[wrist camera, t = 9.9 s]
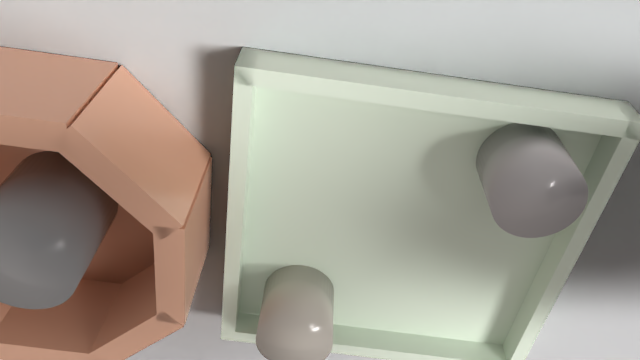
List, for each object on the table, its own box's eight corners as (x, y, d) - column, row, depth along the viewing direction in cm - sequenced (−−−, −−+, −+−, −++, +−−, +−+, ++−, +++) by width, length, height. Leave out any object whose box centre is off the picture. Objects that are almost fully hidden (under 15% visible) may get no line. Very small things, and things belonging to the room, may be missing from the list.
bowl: (214, 76, 19) (184, 139, 16) (207, 300, 26) (185, 381, 22) (-114, 30, 19) (-220, 85, 15) (-40, 269, 25) (-103, 347, 22)
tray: (627, 101, 19) (648, 124, 18) (508, 346, 27) (516, 375, 25) (242, 46, 19) (234, 65, 18) (227, 311, 26) (220, 339, 25)
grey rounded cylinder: (114, 158, 21) (70, 227, 18) (121, 241, 23) (83, 315, 20) (4, 143, 21) (-62, 210, 17) (21, 228, 23) (-34, 301, 20)
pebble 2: (575, 127, 19) (604, 168, 17) (544, 197, 21) (567, 243, 19) (490, 115, 19) (507, 155, 17) (465, 187, 21) (479, 231, 19)
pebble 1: (339, 269, 24) (337, 321, 21) (328, 318, 25) (326, 371, 23) (267, 260, 24) (258, 311, 21) (262, 310, 25) (253, 363, 23)
